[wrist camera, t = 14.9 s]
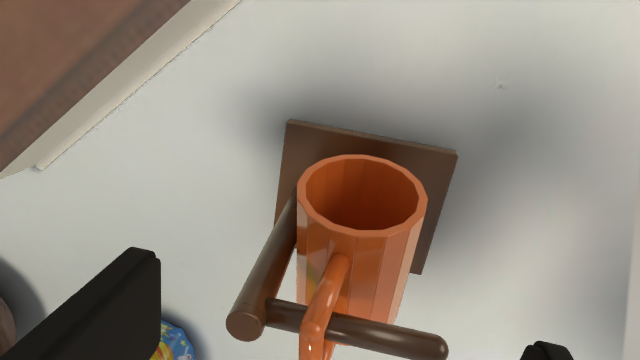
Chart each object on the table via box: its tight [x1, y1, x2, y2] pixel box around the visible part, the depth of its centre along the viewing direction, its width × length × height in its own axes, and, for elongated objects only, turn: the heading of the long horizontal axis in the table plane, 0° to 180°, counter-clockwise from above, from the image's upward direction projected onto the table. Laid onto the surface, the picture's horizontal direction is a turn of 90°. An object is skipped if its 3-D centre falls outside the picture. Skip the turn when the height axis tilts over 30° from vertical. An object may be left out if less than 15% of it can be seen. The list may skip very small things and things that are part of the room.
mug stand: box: [226, 119, 458, 360], centre depth 23 cm, size 12×10×15 cm
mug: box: [297, 155, 428, 360], centre depth 21 cm, size 11×6×9 cm
